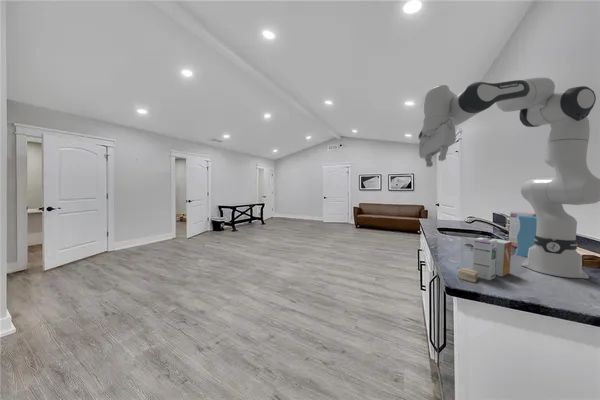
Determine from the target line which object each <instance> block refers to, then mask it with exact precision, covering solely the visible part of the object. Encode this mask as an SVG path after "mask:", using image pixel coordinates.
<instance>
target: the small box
mask: <svg viewBox="0 0 600 400" xmlns="http://www.w3.org/2000/svg"><path fill="white" fill-rule="evenodd" d="M493 239H494V240H497V249H496V274H495V276H498V277H505V276H506V275H508V274H510V271H511V256H512V247H513V246H512V241H509V240H504V239H498V238H493Z"/></svg>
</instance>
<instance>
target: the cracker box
mask: <svg viewBox="0 0 600 400" xmlns="http://www.w3.org/2000/svg"><path fill="white" fill-rule="evenodd" d="M509 215H510V216H509V230H508V231H509V232H508V241H512V246H511V247H513V248H516V249H517V248H518V242H517V234H518V232H519V230H520V221H519V216H531V217H536V214H535V212H525V211H510V214H509Z"/></svg>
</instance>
